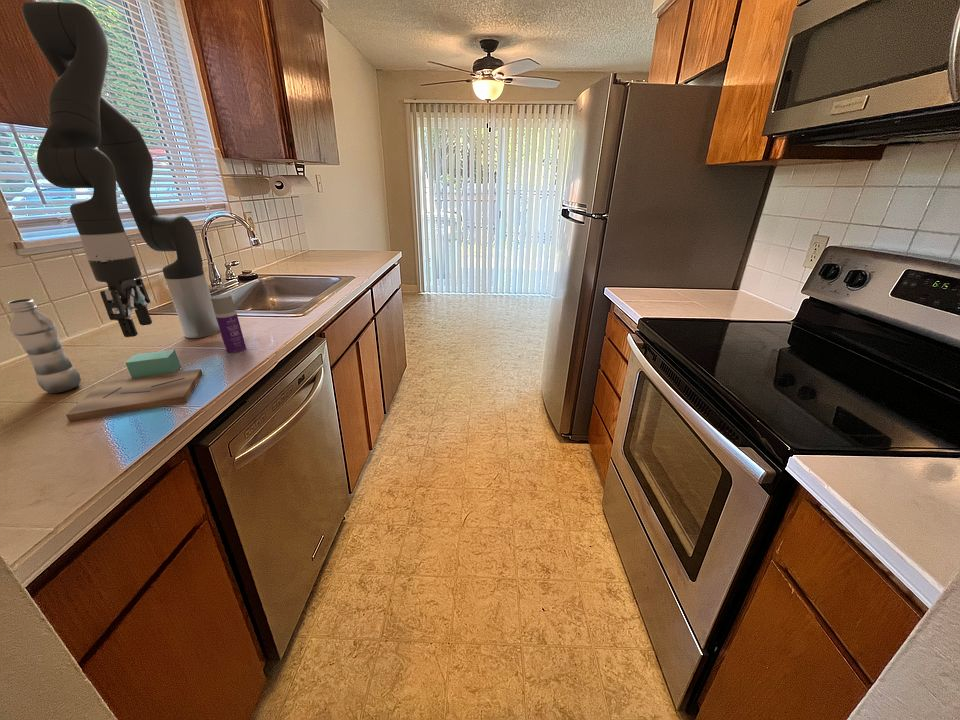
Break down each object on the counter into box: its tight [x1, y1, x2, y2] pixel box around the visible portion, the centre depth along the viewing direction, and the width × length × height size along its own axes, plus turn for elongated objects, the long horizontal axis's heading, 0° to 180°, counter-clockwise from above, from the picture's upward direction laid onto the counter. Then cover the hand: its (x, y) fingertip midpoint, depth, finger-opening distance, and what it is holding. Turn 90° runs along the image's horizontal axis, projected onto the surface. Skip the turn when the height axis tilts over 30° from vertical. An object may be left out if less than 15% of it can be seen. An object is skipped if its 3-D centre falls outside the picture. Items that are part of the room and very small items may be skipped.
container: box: [211, 293, 247, 356], centre depth 103 cm, size 5×5×15 cm
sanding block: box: [125, 349, 182, 379], centre depth 93 cm, size 5×8×5 cm, turn 109°
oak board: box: [65, 368, 204, 422], centre depth 84 cm, size 14×19×2 cm
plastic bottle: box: [7, 298, 82, 394], centre depth 83 cm, size 6×7×20 cm
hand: (139, 330), depth 89 cm, fingers open, 8 cm apart
